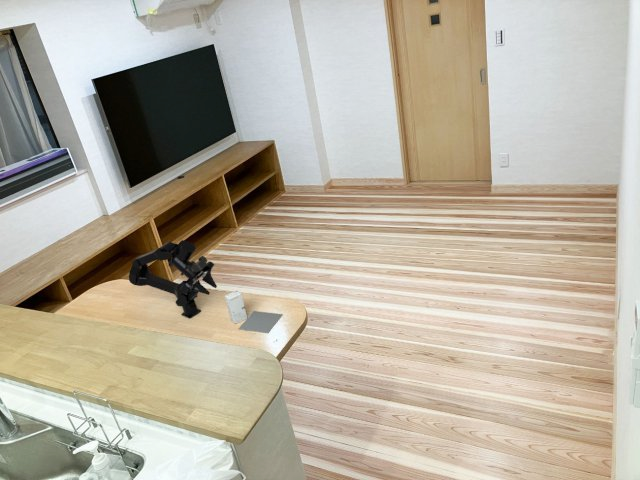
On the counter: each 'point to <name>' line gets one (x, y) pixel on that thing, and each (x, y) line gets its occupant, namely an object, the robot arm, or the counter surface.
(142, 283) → the robot arm
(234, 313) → the skincare box
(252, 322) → the slate mat
